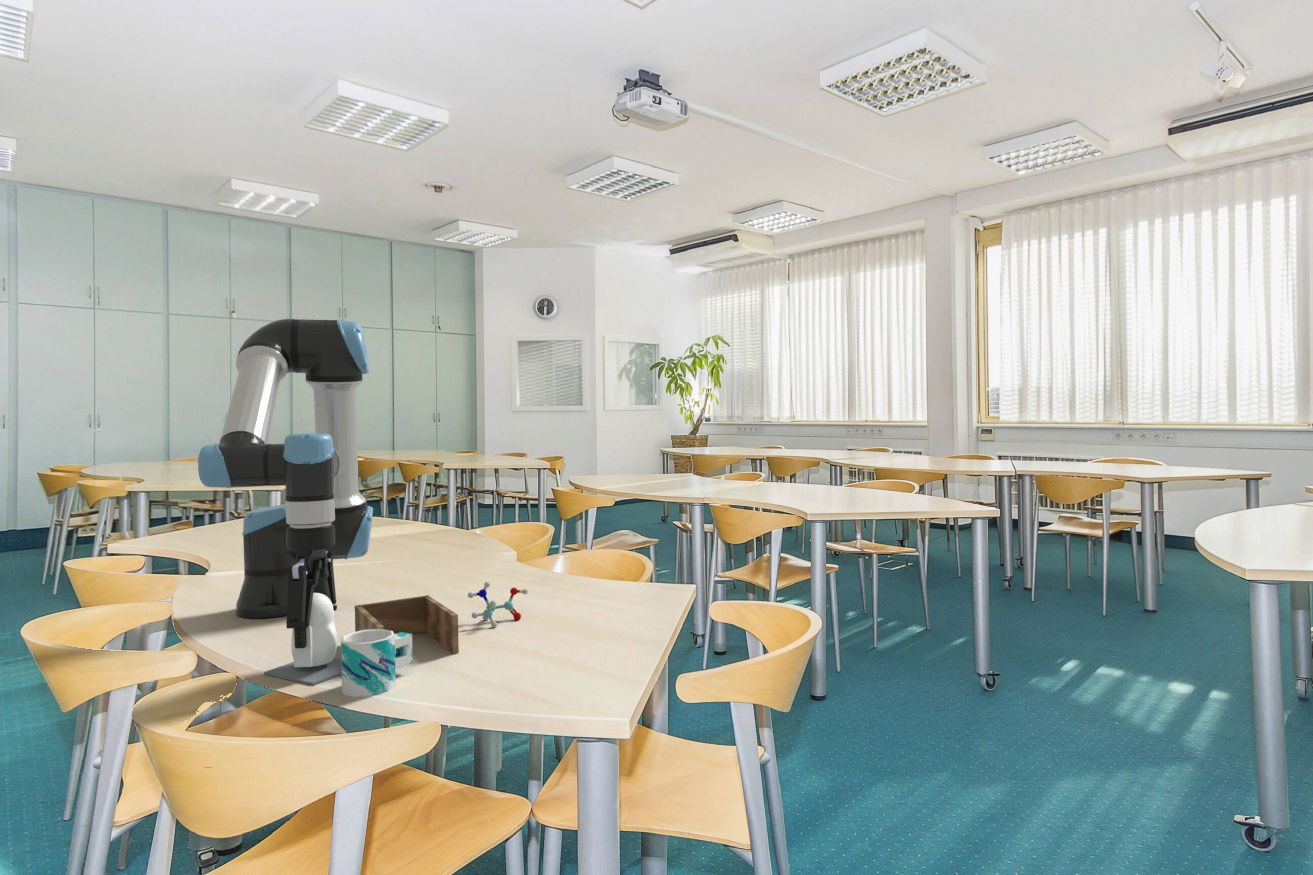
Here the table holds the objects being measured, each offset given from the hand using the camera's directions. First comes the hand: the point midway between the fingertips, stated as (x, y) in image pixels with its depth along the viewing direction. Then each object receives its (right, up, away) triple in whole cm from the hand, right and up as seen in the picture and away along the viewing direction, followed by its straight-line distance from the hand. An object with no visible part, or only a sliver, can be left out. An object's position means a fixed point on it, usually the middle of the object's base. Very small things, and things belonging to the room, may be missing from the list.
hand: (313, 657), depth 127 cm
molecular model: (+24, -1, +29) cm, 38 cm away
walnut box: (+12, -2, +12) cm, 17 cm away
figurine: (0, -1, 0) cm, 1 cm away
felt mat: (0, -2, 0) cm, 2 cm away
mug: (+13, -3, -6) cm, 15 cm away
